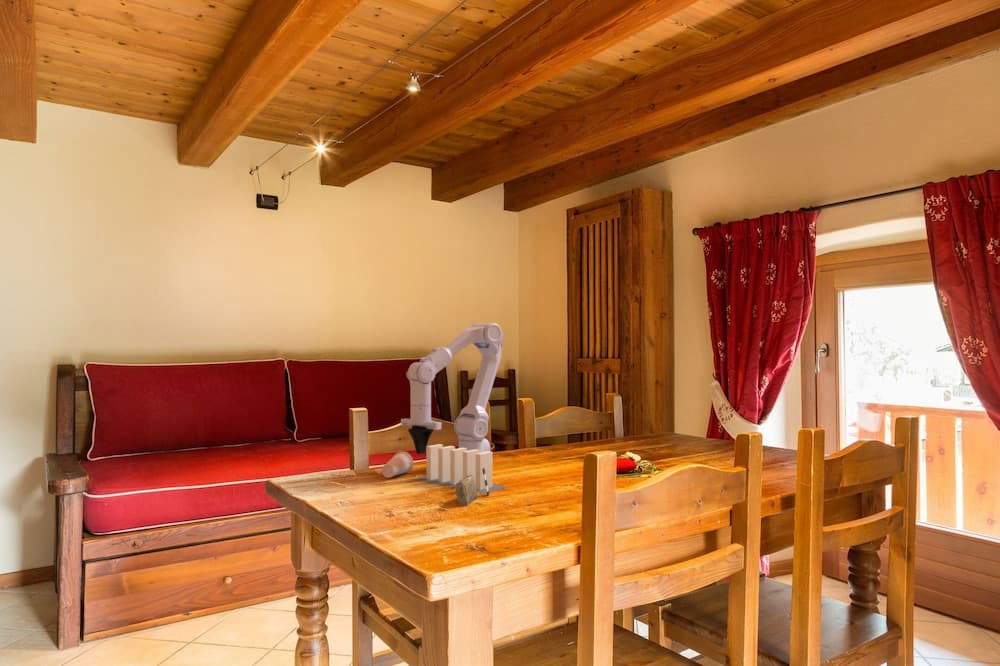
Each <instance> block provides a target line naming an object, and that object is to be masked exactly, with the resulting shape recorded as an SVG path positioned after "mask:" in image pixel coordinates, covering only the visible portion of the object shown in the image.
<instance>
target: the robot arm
mask: <svg viewBox="0 0 1000 666" xmlns="http://www.w3.org/2000/svg"><path fill="white" fill-rule="evenodd" d="M503 339H504V332H503V331H502V328H501V326H500V325H499V324H498V323H496V322H488V323H487V322H486V323H473V324H471V325H470V326H468V327H466V328H465V330H463V331H462V333H460V334H459V335H457V337H456V338H454V339H453V340H452V341H451V342H449V343H448V344H447V345H446V346H445V347H444V346H437V347H436V346H435V347H433V348H432V349H431V352H430V353H429V354H426V356H422V357H421V358H420V360H419V362H417V361H416V362H413V363H411V364H410V366H409V368H408V369H407V371H406V377H407V379H408V380H409V387H410V418H400V426H401V427H403V426H404V427H405V426H406V427H411V428H408V433H409V435H410V436H411V439H412V442H413V445H414V449H415V452H416V455H417V454H418V455H423V454H425V453H426V451H427V446H428V442H429V439H430V437H431V436H432V434H433V432H434V431H438V430H442V422H441V421H436V420H433V419H432V382H434V380H435V378H436V375H437V374H438V373H440V371H441V370H443V369H445V367H447V366H448V365H450V364H451V362H452V357H454V356H455V355H457V354H459V352H461V351H463V350H464V349H466V348H467V347H468V346H470V345H471V344H473V345H474V346H475V348H476V349H477V350H478V351H479V352H480V354H481V357H482V358H481V361H480V364H479V368H478V370H477V373H476V377H475V379H474V384H473V386H472V389H471V392H470V393H471V394H470V397H469V399H468V402H467V405H466V406H465V407H463V408H462V409H461V410H460V413H459V415H458V416H457V418H456V419H455V421H454V424H453V430H454V432H455V434H456V435H457V439H458V448H467V451H469V450H474V449H476V450H480V453H482V452H487V451H490V452H491V445H490V441H489V440H488V439H487V438H485V437H486V436H487V434H488V431H489V424H488V423H489V419H490V416H489V414H488V413H487V411H486V409H487V405H488V402H489V399H490V395H491V392H492V388H493V385H494V381H495V379H496V375H497V373H498V369H499V365H500V363H501V362H500V361H501V360H502V342H503Z"/></svg>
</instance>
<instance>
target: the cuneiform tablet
mask: <svg viewBox="0 0 1000 666" xmlns="http://www.w3.org/2000/svg"><path fill="white" fill-rule="evenodd" d="M482 470H483V475H484V481H485V486H486V491H487V493H486V495H487V496H488V497H489V496H490V492H489V490H488V485H487V479H486V474H485V469H484V468H483V469H482ZM454 489H455V496H456V499H457V502H458V505H459V506H461V507H467V506H469V505H470V504H472V502H473V501H475V500H476V499H477V498H478V493H477V492H476V483H475V479H474V475H468V476H467V477H465V478H463V479H461V480H460V481H459V482H458V483H456V485H455V488H454Z"/></svg>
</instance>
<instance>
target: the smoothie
mask: <svg viewBox="0 0 1000 666" xmlns="http://www.w3.org/2000/svg"><path fill="white" fill-rule="evenodd" d="M413 467H414V459H413V457H412V456H411V454H410V453H408V452H407V451H399V452H396V453H395V454H393V456H392V458H391V459H390V460H388V461H387V462H386V463H385V464H384V465H383V466H382V468H381V473H382V475H383V476H384V478H387V479H388V478H389V479H390V478H393V477H397V476H399V475H402V474H408V473H410V472H411V471H412V469H413Z"/></svg>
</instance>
